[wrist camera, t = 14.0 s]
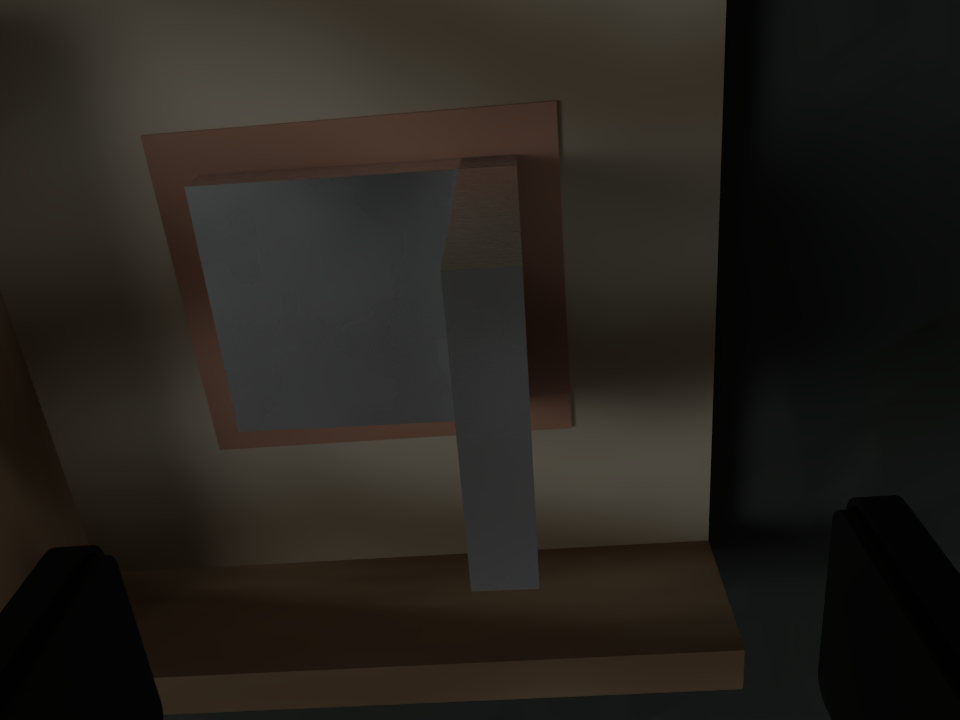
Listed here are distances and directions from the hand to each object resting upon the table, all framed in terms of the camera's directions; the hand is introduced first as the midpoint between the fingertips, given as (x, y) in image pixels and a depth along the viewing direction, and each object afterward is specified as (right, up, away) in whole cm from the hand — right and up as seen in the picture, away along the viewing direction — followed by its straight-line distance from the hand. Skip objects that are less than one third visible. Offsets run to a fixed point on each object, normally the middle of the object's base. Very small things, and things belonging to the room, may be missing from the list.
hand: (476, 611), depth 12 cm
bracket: (-2, +5, +9) cm, 11 cm away
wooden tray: (-3, +4, +11) cm, 12 cm away
